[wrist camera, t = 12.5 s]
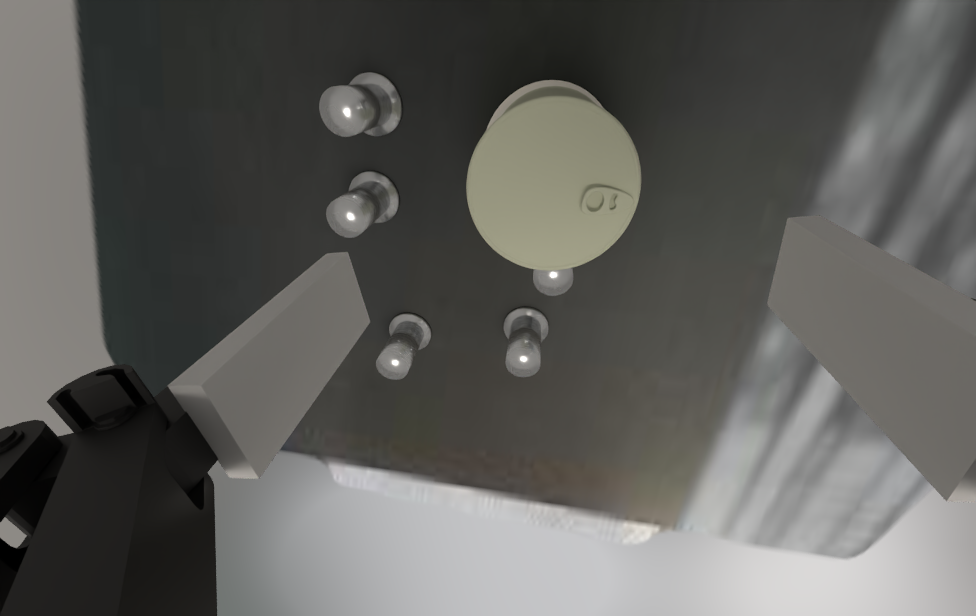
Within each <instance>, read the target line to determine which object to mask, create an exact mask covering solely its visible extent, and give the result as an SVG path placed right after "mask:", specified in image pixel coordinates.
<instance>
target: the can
mask: <svg viewBox="0 0 976 616" xmlns="http://www.w3.org/2000/svg"><path fill="white" fill-rule="evenodd" d="M640 189H641V168H640V162H639V158H638V154H637V151H636V148H635V146H634V143H633V141H632V139H631V137H630V136H629V134H628V133H627V131H626V130H625V128H624V127H623V126H622V124H621V123H620V122H619V121H618V120H617V119H616V118H615V117H614V116H613V115H611V114H610V113H609V112H608V111H606V110H605V109H603V108H602V107H600V106H598V105H597V104H596V103H595V102H594V101H593V100H591V99H590V98H589V97H588V96H586V95H585V94H583V93H581V92H579V91H577V90H574V89H571V88H567V87H562V86H547V87H542V88H538V89H535V90H532V91H530V92H528V93H526V94H524V95H522V96H521V97H519V98H518V99H516V100H515V101H514V102H513V103H512V104H511V105H510V106H509V107H508V108H507V109H506V110H505V112H504V113H503V114H502V116H500V117H499V118H498V119H497V120H496V121H495V122H494V123H493V124H492V125H491V126H490V127H489V128H488V129H487V130H486V132H485V133H484V134H483V136H482V137H481V139H480V141H479V142H478V144H477V146H476V148H475V150H474V152H473V155H472V158H471V161H470V164H469V168H468V174H467V185H466V190H467V201H468V206H469V210H470V213H471V216H472V219H473V221H474V223H475V226H476V227H477V229H478V231H479V232H480V234H481V236H482V237H483V238H484V239H485V241H486V242H487V243H488V244H489V245H490V246H491V247H492V248H493V249H494V250H495V251H496V252H498V253H499V254H500V255H501V256H503V257H504V258H506V259H508V260H510V261H512V262H513V263H516V264H518V265H521V266H524V267H527V268H531V269H537V270H546V271H553V270H563V269H568V268H572V267H576V266H579V265H582V264H584V263H586V262H588V261H591V260H592V259H594V258H596V257H598V256H599V255H601V254H602V253H603V252H605V251H606V250H607V249H608V248H610V247H611V246H612V245H613V244H614V243H615V242H616V241H617V240H618V239H619V237H620V236H621V235H622V234H623V232H624V231H625V229H626V228H627V226H628V225H629V223H630V221H631V219H632V217H633V215H634V212H635V210H636V207H637V204H638V200H639V195H640Z"/></svg>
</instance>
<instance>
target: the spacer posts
mask: <svg viewBox="0 0 976 616" xmlns="http://www.w3.org/2000/svg"><path fill="white" fill-rule="evenodd" d="M319 109H320V114H321V117H322V120H323V122H324V123H325V125H326V126H327V127H328V128H329V129H330V130H331V131H332V132H333V133H335V134H337V135H339V136H343V137H349V136H353V135H356V134H359V133H362V132H365V133H366V134H369V135H372V136H383V135H386V134H389V133H390V132H392V131H393V130H394V129H395V128H396V127H397V126H398V124H399V123H400V120H401V117H402V111H403V106H402V100H401V96H400V94H399V92H398V90H397V88H396V87H395V85H394V84H393V83H392V82H391V81H390V80H389V79H388V78H386V77H385V76H383V75H381V74H378V73H372V72H369V73H362V74H360V75H358V76H356V77H355V78H354V79H353V80H352V81H351V82H350V84H349V85H342V86H333V87H330V88H328V89H327V90H326V91H325V92H324V93H323V94H322V96H321V99H320V105H319ZM399 203H400V198H399V193H398V190H397V188H396V186H395V185H394V183H393V182H392V181H391V180H390V179H389V178H388V177H387V176H385V175H384V174H382V173H379V172H376V171H366V172H363V173H361V174H359V175H357V176H356V177H355V178H354V179H353V180H352V182H351V184H350V187H349V191H348V192H347V193H345V194H343V195H342V196H340V197H339V198H337V199H335V200H334V201H332V202H331V203H330V204H329V206H328V208H327V212H326V216H327V220H328V223H329V225H330V226H331V228H332V229H333V230H334V231H335V232H336V233H337V234H339V235H341V236H343V237H347V238H353V237H357V236H358V235H360V234H361V233H362V232H363V231H365V230H366V229H367V228H368V227H369V226H370V225H371V224H372V223H382V222H385V221H388V220H389V219H391V218H392V217H393V216H394V215H395V214H396V212H397V210H398V208H399ZM533 282H534V285H535V287H536V288H537V289H538V290H539V291H540V292H541V293H543V294H546V295H550V296H556V295H560V294H563V293H564V292H566V291H567V290H568V289H569V288H570V287H571V285H572V283H573V269H572V268H568V269H563V270H553V271H546V270H537V269H534V272H533ZM389 332H390V336H391V337H390V338H389V340H388V342H387V344H386V345H385V347H384V349H383V350H382V352H381V354H380V355H379V357H378V359H377V361H376V367H377V369H378V371H379V372H380V373H381V374H382V375H383V376H385V377H387V378H389V379H394V380H398V379H402V378H404V377H405V376H406V375H407V373H408V371H409V368H410V366H411V364H412V362H413V360H414V358H415V355H416V353H417V351H418V350H419V349H422V348H424V347H425V346H426V345H427V344H428V343H429V341H430V339H431V335H432V332H431V328H430V326H429V324H428V323H427V321H426V320H425V319H424V318H422V317H421V316H419V315H417V314H414V313H401V314H399V315H397V316H396V317H394V318H393V320H392V321H391V323H390V326H389ZM504 332H505V335H506V336H507V338H508V339H509V341H508V348H507V355H506V367H507V369H508V370H509V371H510V372H511V373H512V374H514V375H516V376H519V377H529V376H532V375H534V374H535V373H536V372H537V371H538V370H539V368H540V356H541V342H542V341H543V340H544V339H545V338H546V336H547V334H548V321H547V318H546V317H545V315H544V314H543V313H542V312H540V311H539V310H537V309H535V308H532V307H519V308H516V309H514V310H512V311H511V312H510V313H509V314H508V315H507V316H506V318H505V321H504Z"/></svg>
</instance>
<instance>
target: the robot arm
mask: <svg viewBox="0 0 976 616" xmlns="http://www.w3.org/2000/svg"><path fill="white" fill-rule="evenodd" d="M767 305H768V306H769V307H770V308H771V310H772V311H773V312H774V313H775V314H776V315H777V316H778V317H779V318H780V319H781V320H782V322H783V323H784V324H785V325H786V326H787V327H788V328H789V329H790V330H791V331H792V333H793V334H794V335H795V336H796V337H797V338H798V339H799V340H800V341H801V342H802V343H803V345H804V346H805V347H806V348H807V349H808V350H809V351H810V352H811V353H812V354H813V356H814V357H815V358H816V359H817V360H818V361H819V362H820V363H821V364H822V365H823V367H824V368H825V369H826V370H827V371H828V372H829V373H830V374H831V375H832V376H833V377H834V379H835V380H836V381H837V382H838V383H839V384H840V385H841V386H842V387H843V388H844V390H845V391H846V392H847V393H848V394H849V395H850V396H851V397H852V398H853V399H854V400H855V402H856V403H857V404H858V405H859V406H860V407H861V408H862V409H863V410H864V411H865V413H866V414H867V415H868V416H869V417H870V418H871V419H872V420H873V421H874V422H875V423H876V425H877V426H878V427H879V428H880V429H881V430H882V431H883V432H884V433H885V434H886V436H887V437H888V438H889V439H890V440H891V441H892V442H893V443H894V444H895V445H896V446H897V448H898V449H899V450H900V451H901V452H902V453H903V454H904V455H905V456H906V457H907V459H908V460H909V461H910V462H911V463H912V464H913V465H914V466H915V467H916V468H917V469H918V471H919V472H920V473H921V474H922V475H923V476H924V477H925V478H926V479H927V480H928V482H929V483H930V484H931V485H932V486H933V487H934V488H935V489H936V490H937V491H938V492H939V494H940V495H941V496H942V497H943V498H944V499H945V500H946V501H951V502H976V300H975V299H972V298H969V297H967V296H965V295H964V294H962V293H960V292H958V291H956V290H954V289H953V288H951V287H949V286H947V285H945V284H944V283H942V282H940V281H938V280H936V279H934V278H933V277H931V276H929V275H927V274H925V273H924V272H922V271H920V270H918V269H916V268H914V267H913V266H911V265H909V264H907V263H905V262H904V261H902V260H900V259H898V258H896V257H894V256H893V255H891V254H889V253H887V252H885V251H884V250H882V249H880V248H878V247H876V246H874V245H873V244H871V243H869V242H867V241H865V240H863V239H862V238H860V237H858V236H856V235H854V234H853V233H851V232H849V231H847V230H845V229H843V228H842V227H840V226H838V225H836V224H834V223H833V222H831V221H829V220H827V219H825V218H823V217H822V216H820V215H816V216H803V217H790V218H788V219H787V223H786V227H785V232H784V236H783V240H782V244H781V248H780V252H779V257H778V261H777V265H776V269H775V273H774V278H773V282H772V286H771V290H770V294H769V298H768V303H767ZM369 323H370V319H369V316H368V313H367V310H366V307H365V304H364V301H363V298H362V295H361V292H360V289H359V286H358V282H357V279H356V276H355V273H354V270H353V267H352V264H351V261H350V258H349V255H348V252H341V253H328V254H326V255H324V256H323V257H322V258H321V259H320V260H318V261H317V262H316V263H315V264H314V265H312V266H311V267H310V268H309V269H308V270H306V271H305V272H304V273H303V274H301V275H300V276H299V277H298V278H297V279H295V280H294V281H293V282H292V283H291V284H289V285H288V286H287V287H286V288H285V289H283V290H282V291H281V292H280V293H279V294H277V295H276V296H275V297H274V298H273V299H271V300H270V301H269V302H268V303H267V304H265V305H264V306H263V307H262V308H261V309H259V310H258V311H257V312H256V313H255V314H253V315H252V316H251V317H250V318H249V319H247V320H246V321H245V322H244V323H243V324H241V325H240V326H239V327H238V328H236V329H235V330H234V331H233V332H232V333H230V334H229V335H228V336H227V337H226V338H224V339H223V340H222V341H221V342H220V343H218V344H217V345H216V346H215V347H214V348H212V349H211V350H210V351H209V352H208V353H206V354H205V355H204V356H203V357H202V358H200V359H199V360H198V361H197V362H196V363H194V364H193V365H192V366H191V367H190V368H188V369H187V370H186V371H185V372H184V373H182V374H181V375H180V376H179V377H178V378H176V379H175V380H174V381H173V382H172V383H170V384H169V385H168V386H167V387H166V388H165V389H164V390H162V391H161V392H160V393H159V394H158V395H156V396H155V397H153V396H152V394H151V393H150V392H149V390H148V389H147V387H146V386H145V385H144V383H143V382H142V380H141V379H140V378H139V376H138V375H137V373H136V372H135V370H134V369H133V368H132V366H129V365H125V364H123V365H113V366H110V367H106V368H102V369H99V370H96V371H94V372H91V373H89V374H87V375H84V376H82V377H80V378H78V379H76V380H74V381H72V382H71V383H69V384H67V385H65V386H64V387H63V388H61V389H60V390H58V391H57V392H56V393H54V394H53V395H52V397H51V398H50V399H49V400H48V401H47V402H48V404H49V405H50V406H51V407H52V408H53V409H54V410H55V411H56V413H58V415H59V416H60V417H61V418H62V419H63V421H64V422H65V423H66V424H67V425H68V426H69V427H70V428H71V429H72V431H73V432H74V433H71V434H67V435H63V436H58V437H57V435H56V434H55V433H54V432H53V431H52V430H51V429H50V428H49V427H48V426H47V425H46V424H45V423H44V421H39V420H33V421H27V422H22V423H19V424H17V425H14V426H11V427H9V426H7V427H5V428H2V429H0V522H1V521H2V520H3V518H4V517H6V518H7V519H8V520H9V521H10V522H12V523H13V524H14V525H15V526H17V527H18V528H19V529H20V530H21V531H22V532H23V533H25V534H26V535H27V537H26V538H25V540H24V541H23V542H22V544H21V545H20V546H19V547H18V548H14V547H11V546H10V545H8V544H7V543H6V542H5V541H3V540H2V539H1V538H0V616H217V593H216V554H215V553H216V551H215V509H214V484H213V481H212V479H211V477H210V476H209V475H208V473H207V472H208V471H209V470H210V468H211V467H212V466H213V465H214V464H215V463H216V461H217V460H218V461H219V463H220V464H221V466H222V467H223V469H224V470H225V472H226V473H227V475H228V476H229V477H230V478H248V479H249V478H250V479H259V478H260V477H261V475H262V474H263V473H264V471H265V470H266V468H267V467H268V466H269V464H270V463H271V461H272V460H273V459H274V457H275V456H276V454H277V453H278V451H279V450H280V449H281V447H282V446H283V444H284V443H285V442H286V440H287V439H288V437H289V436H290V435H291V433H292V432H293V430H294V429H295V427H296V426H297V425H298V423H299V422H300V420H301V419H302V418H303V416H304V415H305V413H306V412H307V411H308V409H309V408H310V406H311V405H312V404H313V402H314V401H315V399H316V398H317V396H318V395H319V394H320V392H321V391H322V389H323V388H324V387H325V385H326V384H327V382H328V381H329V380H330V378H331V377H332V375H333V374H334V372H335V371H336V370H337V368H338V367H339V365H340V364H341V363H342V361H343V360H344V358H345V357H346V356H347V354H348V353H349V351H350V350H351V348H352V347H353V346H354V344H355V343H356V341H357V340H358V339H359V337H360V336H361V334H362V333H363V332H364V330H365V329H366V327H367V326H368V324H369Z"/></svg>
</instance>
